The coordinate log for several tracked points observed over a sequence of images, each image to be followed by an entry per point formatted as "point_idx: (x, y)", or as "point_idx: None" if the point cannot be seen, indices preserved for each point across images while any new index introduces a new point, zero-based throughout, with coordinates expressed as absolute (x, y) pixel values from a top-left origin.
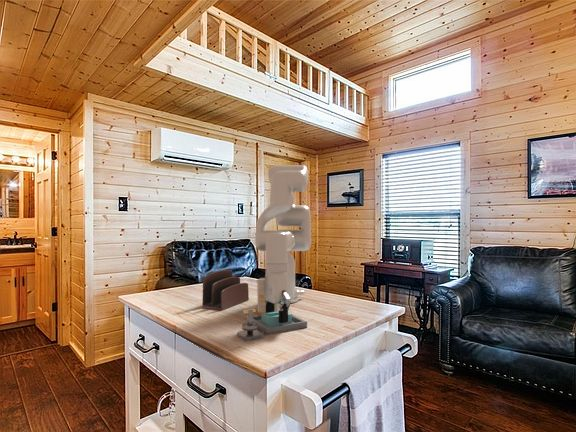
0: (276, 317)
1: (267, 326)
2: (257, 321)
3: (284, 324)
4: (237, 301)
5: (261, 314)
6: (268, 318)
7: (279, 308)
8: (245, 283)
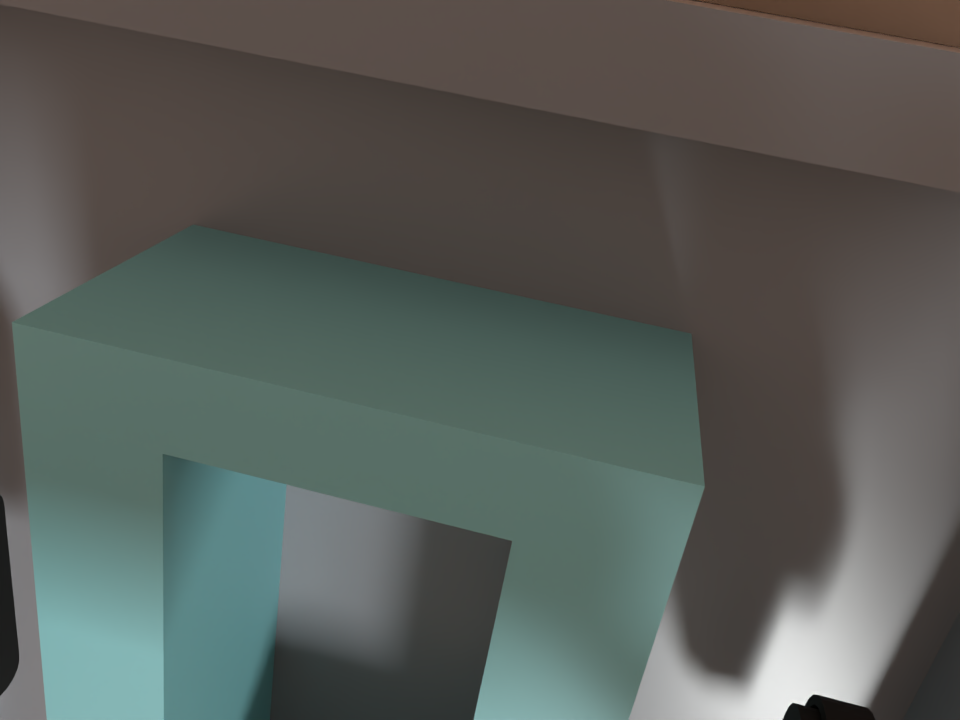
0: (51, 577)
1: (259, 236)
2: (548, 93)
3: None
4: None
5: (693, 469)
6: (43, 314)
7: None
8: None
